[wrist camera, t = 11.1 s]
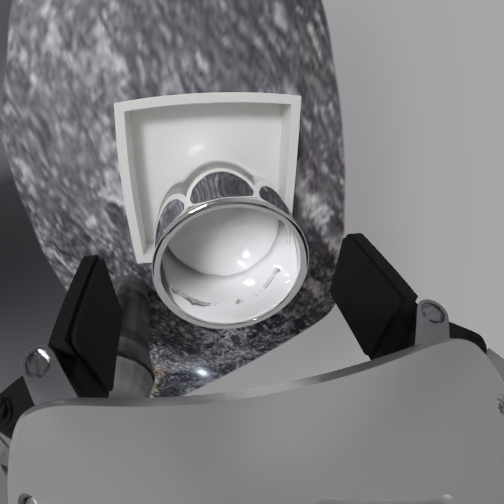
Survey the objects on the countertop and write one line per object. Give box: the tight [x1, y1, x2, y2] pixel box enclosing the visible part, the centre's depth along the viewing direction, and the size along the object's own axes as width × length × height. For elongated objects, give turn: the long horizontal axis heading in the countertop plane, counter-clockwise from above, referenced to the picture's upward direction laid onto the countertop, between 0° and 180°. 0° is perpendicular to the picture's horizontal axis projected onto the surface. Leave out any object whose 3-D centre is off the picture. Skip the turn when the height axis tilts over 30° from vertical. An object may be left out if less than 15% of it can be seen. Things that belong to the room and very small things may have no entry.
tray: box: [114, 92, 301, 264], centre depth 23 cm, size 15×15×3 cm
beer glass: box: [152, 140, 309, 329], centre depth 17 cm, size 7×7×15 cm
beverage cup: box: [109, 276, 155, 398], centre depth 21 cm, size 7×7×20 cm
